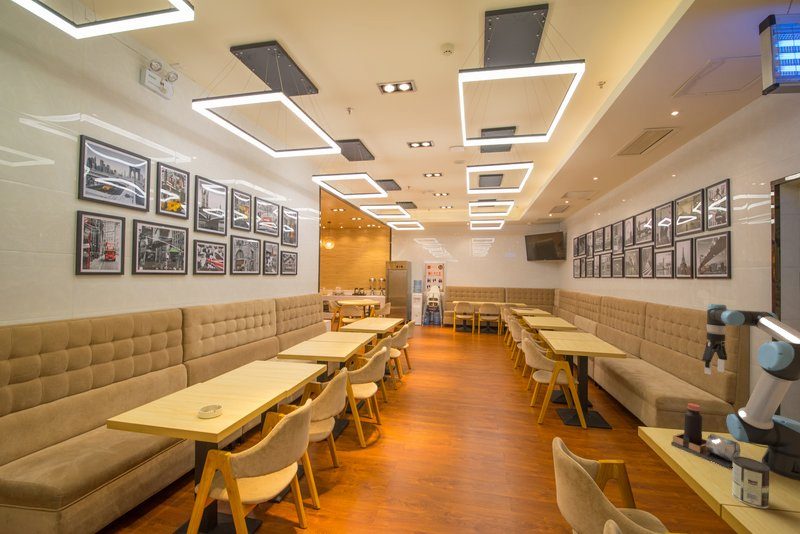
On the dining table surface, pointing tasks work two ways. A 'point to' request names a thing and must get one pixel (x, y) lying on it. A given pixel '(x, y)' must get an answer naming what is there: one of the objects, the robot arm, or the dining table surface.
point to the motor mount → (710, 448)
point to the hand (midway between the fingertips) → (714, 372)
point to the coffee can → (750, 482)
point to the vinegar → (693, 424)
